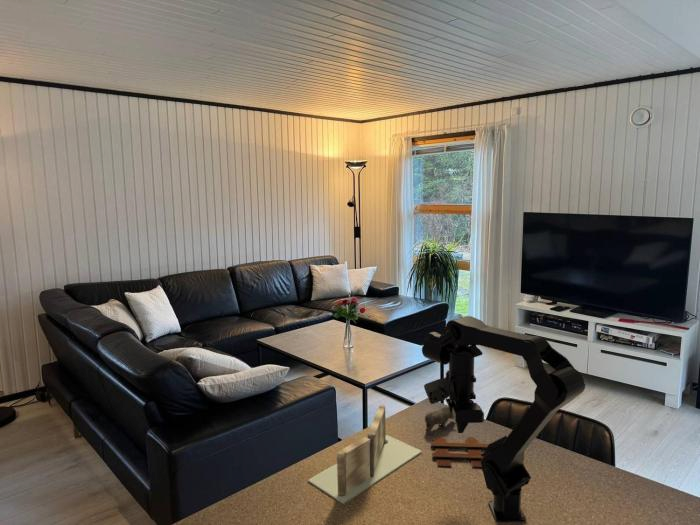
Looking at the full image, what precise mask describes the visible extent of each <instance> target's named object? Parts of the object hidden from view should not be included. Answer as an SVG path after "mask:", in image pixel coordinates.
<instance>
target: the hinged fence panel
mask: <svg viewBox="0 0 700 525" xmlns="http://www.w3.org/2000/svg"><path fill="white" fill-rule="evenodd" d="M374 415H375V416H374V417H373V420H372V423H371V425H370V428H369V430H368V432H367V435H368V434H373V448H374V471H375V468H376V465H377V462H378V459H379V456H380V453H381V450H382V447H383V444H384V442H385V441H386V435H387V434H386V406H385V405H381V404H380V405H379V406H378V408H377V410H376V413H375V414H374Z"/></svg>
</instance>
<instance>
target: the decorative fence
mask: <svg viewBox="0 0 700 525" xmlns="http://www.w3.org/2000/svg"><path fill="white" fill-rule="evenodd" d="M500 438H501V437H499V438H498V439H500ZM489 444H490V443H479V441H478V439H477V438H476V437H474V436H467V437H466V438H465V442H449V441H447V438H445V437H444V436H442V435H436V436H435V437H434V438H433V441H431V442H430V448H431V449H434V450H435V452H432V453H431V454H432V455H431V457H432V459H433V460H436V466H437V468H449V469H450V468H452V462H451V461H453V460H454V461H470V465H471V469H482V465H481V459H482V458H483V456H481V454H482V453H483V452H482V451H486V449H487V447H488V445H489ZM451 449H452V450H467V453H461V452H460V453H459V452H449V450H451Z"/></svg>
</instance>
